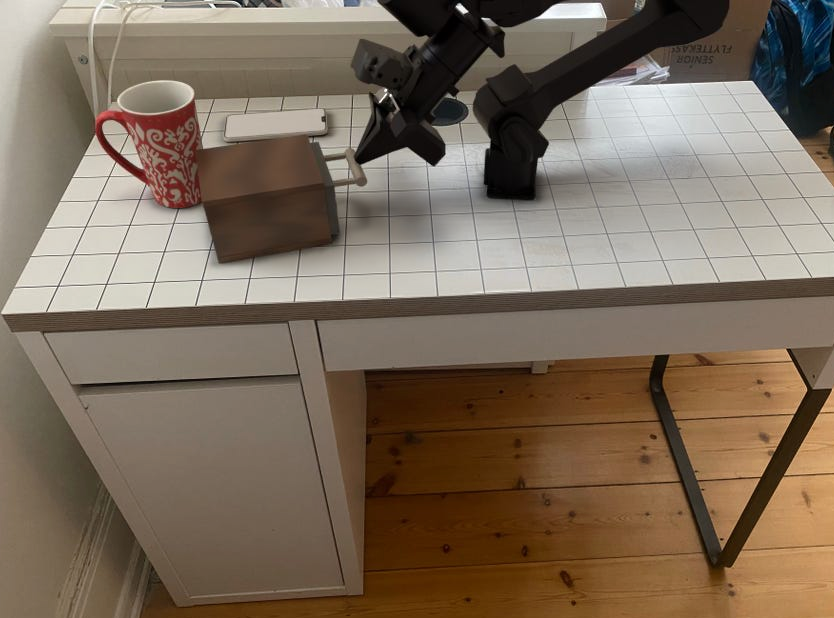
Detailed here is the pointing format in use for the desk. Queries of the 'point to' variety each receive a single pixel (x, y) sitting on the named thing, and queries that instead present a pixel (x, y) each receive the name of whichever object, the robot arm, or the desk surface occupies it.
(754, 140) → the desk surface
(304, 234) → the cabinet
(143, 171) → the mug
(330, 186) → the drawer
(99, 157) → the desk surface
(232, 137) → the smartphone
